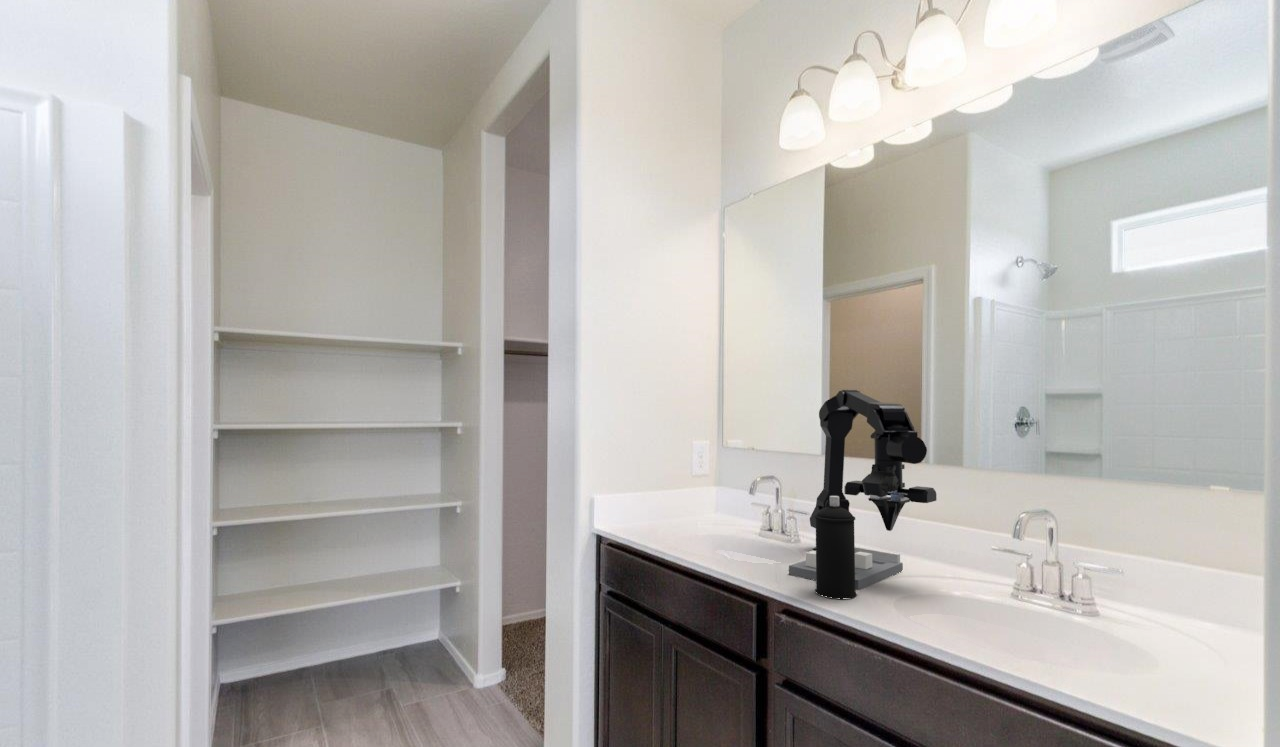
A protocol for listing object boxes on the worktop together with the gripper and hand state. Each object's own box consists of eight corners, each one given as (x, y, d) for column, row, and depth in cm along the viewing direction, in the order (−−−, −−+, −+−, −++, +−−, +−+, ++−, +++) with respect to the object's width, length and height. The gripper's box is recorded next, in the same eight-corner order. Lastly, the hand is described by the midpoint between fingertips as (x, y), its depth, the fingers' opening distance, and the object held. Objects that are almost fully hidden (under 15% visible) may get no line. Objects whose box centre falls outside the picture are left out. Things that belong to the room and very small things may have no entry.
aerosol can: (859, 600, 126) (857, 499, 127) (816, 598, 127) (815, 498, 128) (853, 589, 134) (852, 494, 135) (813, 587, 135) (812, 493, 137)
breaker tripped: (860, 564, 146) (859, 551, 147) (872, 567, 144) (872, 553, 144) (853, 567, 144) (853, 553, 144) (865, 569, 142) (865, 555, 142)
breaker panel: (836, 558, 161) (836, 542, 161) (902, 571, 149) (902, 554, 149) (788, 574, 146) (788, 556, 146) (858, 589, 133) (858, 570, 134)
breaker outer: (813, 563, 147) (813, 550, 148) (824, 565, 145) (824, 552, 145) (805, 565, 145) (805, 552, 145) (817, 568, 143) (817, 554, 143)
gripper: (831, 459, 142) (832, 529, 141) (915, 465, 129) (916, 542, 128) (855, 456, 150) (856, 523, 149) (936, 461, 137) (938, 534, 136)
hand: (889, 530), depth 140 cm, fingers closed
